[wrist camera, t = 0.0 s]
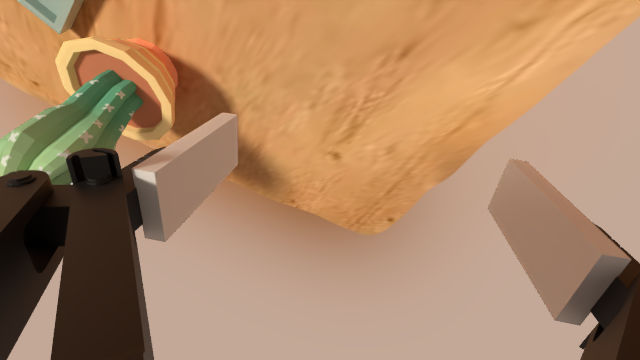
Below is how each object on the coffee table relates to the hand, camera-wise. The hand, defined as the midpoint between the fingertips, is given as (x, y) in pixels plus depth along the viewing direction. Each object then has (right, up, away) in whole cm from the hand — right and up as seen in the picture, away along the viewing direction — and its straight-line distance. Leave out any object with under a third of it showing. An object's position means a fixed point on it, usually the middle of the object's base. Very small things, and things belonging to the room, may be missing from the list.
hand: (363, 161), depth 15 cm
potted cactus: (-28, +16, +32) cm, 45 cm away
